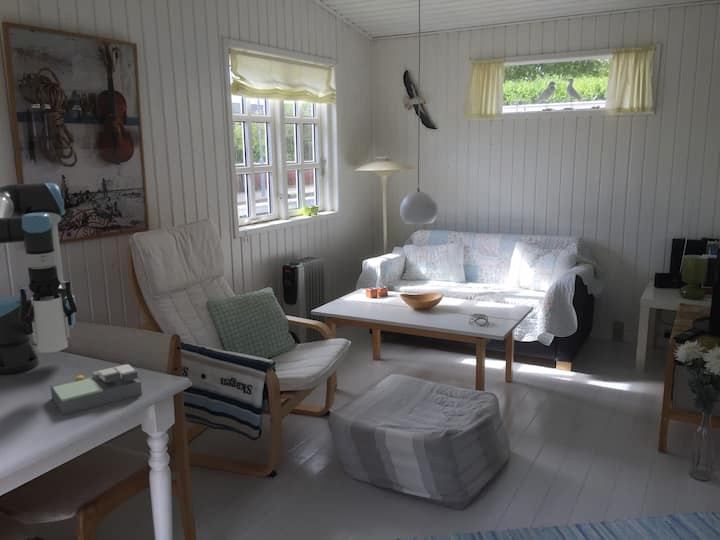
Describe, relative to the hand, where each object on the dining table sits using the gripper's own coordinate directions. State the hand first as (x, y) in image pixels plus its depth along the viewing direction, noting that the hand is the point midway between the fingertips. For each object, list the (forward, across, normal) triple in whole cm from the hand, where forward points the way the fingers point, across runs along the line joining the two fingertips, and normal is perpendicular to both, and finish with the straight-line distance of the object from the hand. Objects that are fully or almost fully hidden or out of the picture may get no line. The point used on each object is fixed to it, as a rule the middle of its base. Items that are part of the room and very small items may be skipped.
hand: (51, 338), depth 191 cm
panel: (+16, +8, -14) cm, 22 cm away
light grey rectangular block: (+10, +11, -12) cm, 19 cm away
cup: (+3, 0, 0) cm, 3 cm away
